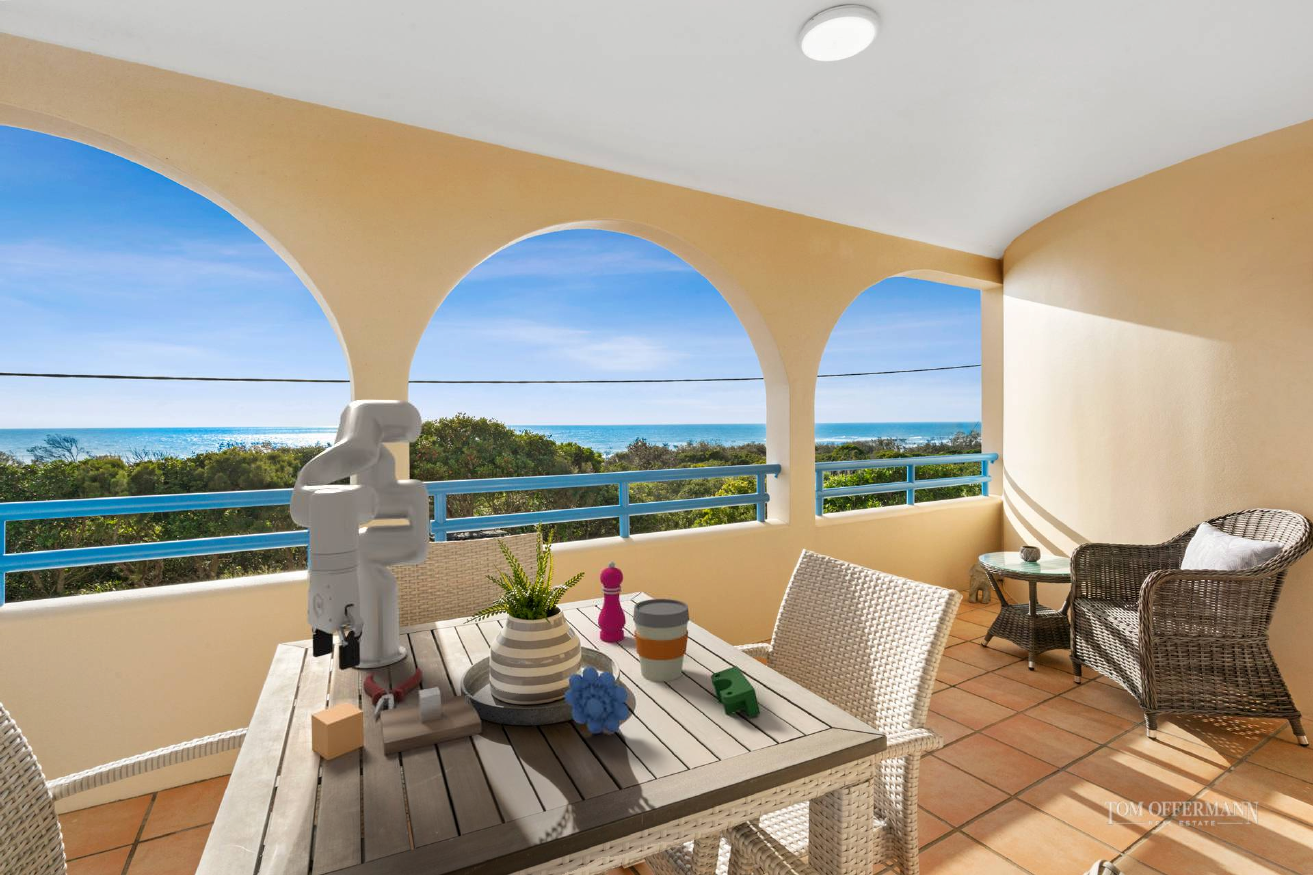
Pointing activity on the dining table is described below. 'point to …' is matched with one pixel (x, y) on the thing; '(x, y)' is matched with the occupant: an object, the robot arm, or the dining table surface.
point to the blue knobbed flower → (597, 700)
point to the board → (428, 722)
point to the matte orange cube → (337, 730)
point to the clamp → (735, 692)
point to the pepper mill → (611, 605)
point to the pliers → (394, 695)
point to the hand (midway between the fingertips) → (336, 660)
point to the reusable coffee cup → (661, 637)
